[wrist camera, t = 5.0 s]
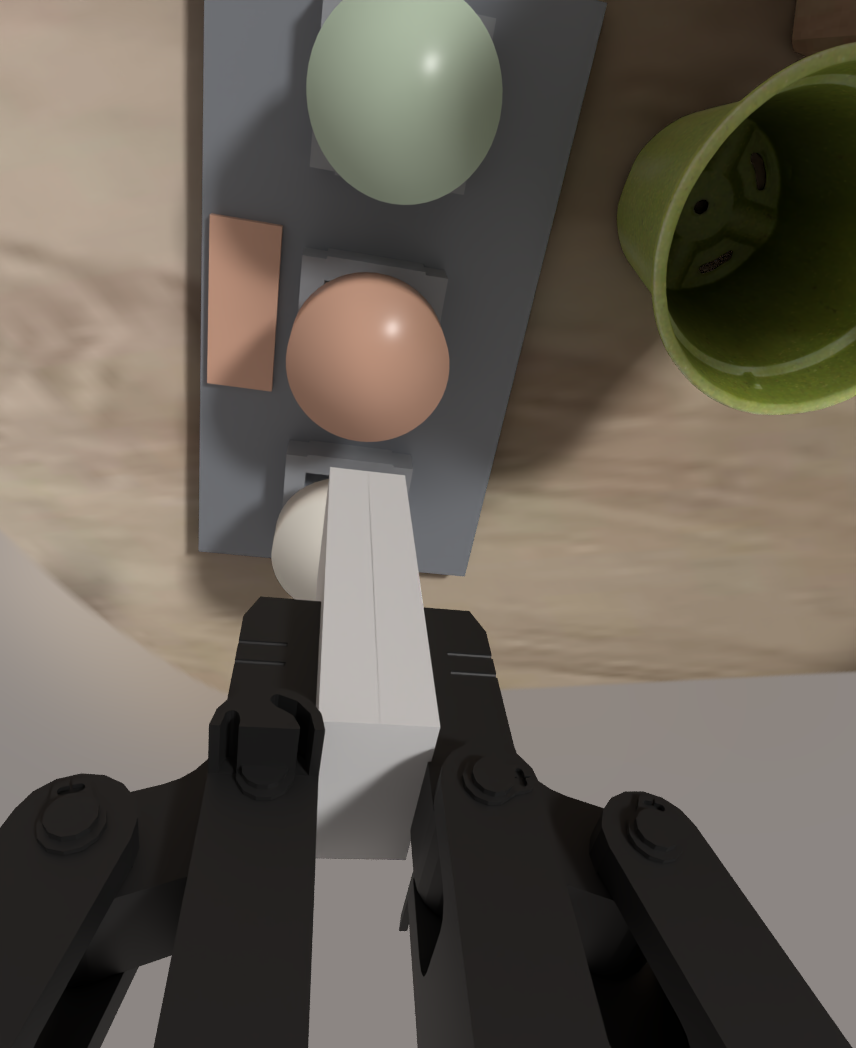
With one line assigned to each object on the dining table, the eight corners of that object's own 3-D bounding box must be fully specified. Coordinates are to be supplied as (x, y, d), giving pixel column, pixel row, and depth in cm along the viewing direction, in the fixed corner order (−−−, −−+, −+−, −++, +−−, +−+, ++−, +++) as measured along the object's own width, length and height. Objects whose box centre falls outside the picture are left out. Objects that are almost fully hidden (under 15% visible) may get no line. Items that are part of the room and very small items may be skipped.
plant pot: (786, -16, 23) (985, -56, 16) (851, 246, 28) (1028, 308, 20) (529, 155, 25) (599, 189, 18) (629, 372, 30) (718, 470, 22)
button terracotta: (299, 250, 24) (292, 271, 21) (453, 275, 24) (463, 299, 22) (288, 397, 26) (280, 431, 24) (426, 415, 27) (434, 450, 25)
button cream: (283, 452, 27) (275, 491, 25) (416, 468, 28) (422, 507, 26) (274, 563, 30) (267, 607, 28) (396, 574, 31) (400, 619, 28)
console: (211, -86, 21) (196, -102, 19) (597, 5, 23) (620, -1, 21) (202, 538, 32) (192, 568, 30) (462, 563, 34) (468, 593, 32)
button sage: (321, -32, 20) (316, -47, 17) (503, 10, 21) (523, 1, 18) (305, 173, 22) (298, 187, 20) (466, 203, 23) (479, 219, 21)
